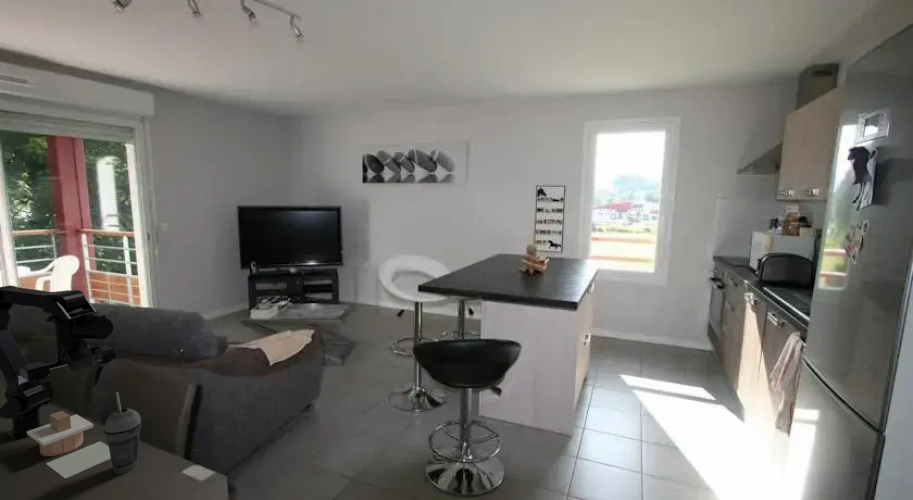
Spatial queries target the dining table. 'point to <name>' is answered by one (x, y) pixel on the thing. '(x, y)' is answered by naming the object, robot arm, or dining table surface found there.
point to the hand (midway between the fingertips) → (74, 391)
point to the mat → (81, 459)
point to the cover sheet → (54, 436)
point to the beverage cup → (123, 438)
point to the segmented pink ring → (62, 445)
